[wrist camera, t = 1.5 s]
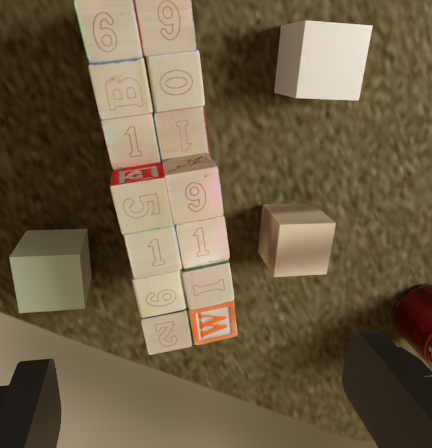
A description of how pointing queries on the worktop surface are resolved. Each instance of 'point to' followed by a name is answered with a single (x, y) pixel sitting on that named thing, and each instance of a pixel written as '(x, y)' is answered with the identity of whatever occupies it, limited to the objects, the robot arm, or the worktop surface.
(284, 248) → the birch cube
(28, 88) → the worktop surface
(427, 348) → the soda can
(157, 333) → the stack of blocks
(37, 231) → the sage cube
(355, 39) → the off-white cube
